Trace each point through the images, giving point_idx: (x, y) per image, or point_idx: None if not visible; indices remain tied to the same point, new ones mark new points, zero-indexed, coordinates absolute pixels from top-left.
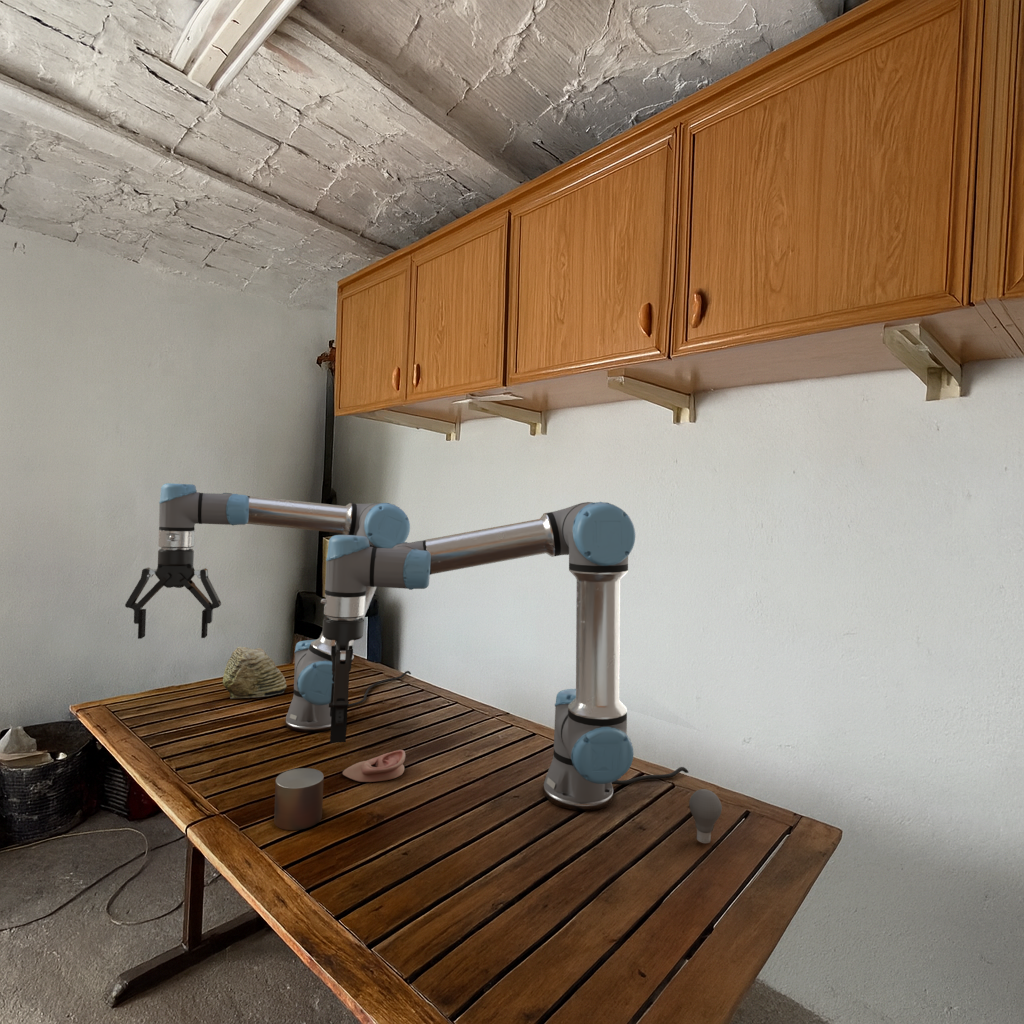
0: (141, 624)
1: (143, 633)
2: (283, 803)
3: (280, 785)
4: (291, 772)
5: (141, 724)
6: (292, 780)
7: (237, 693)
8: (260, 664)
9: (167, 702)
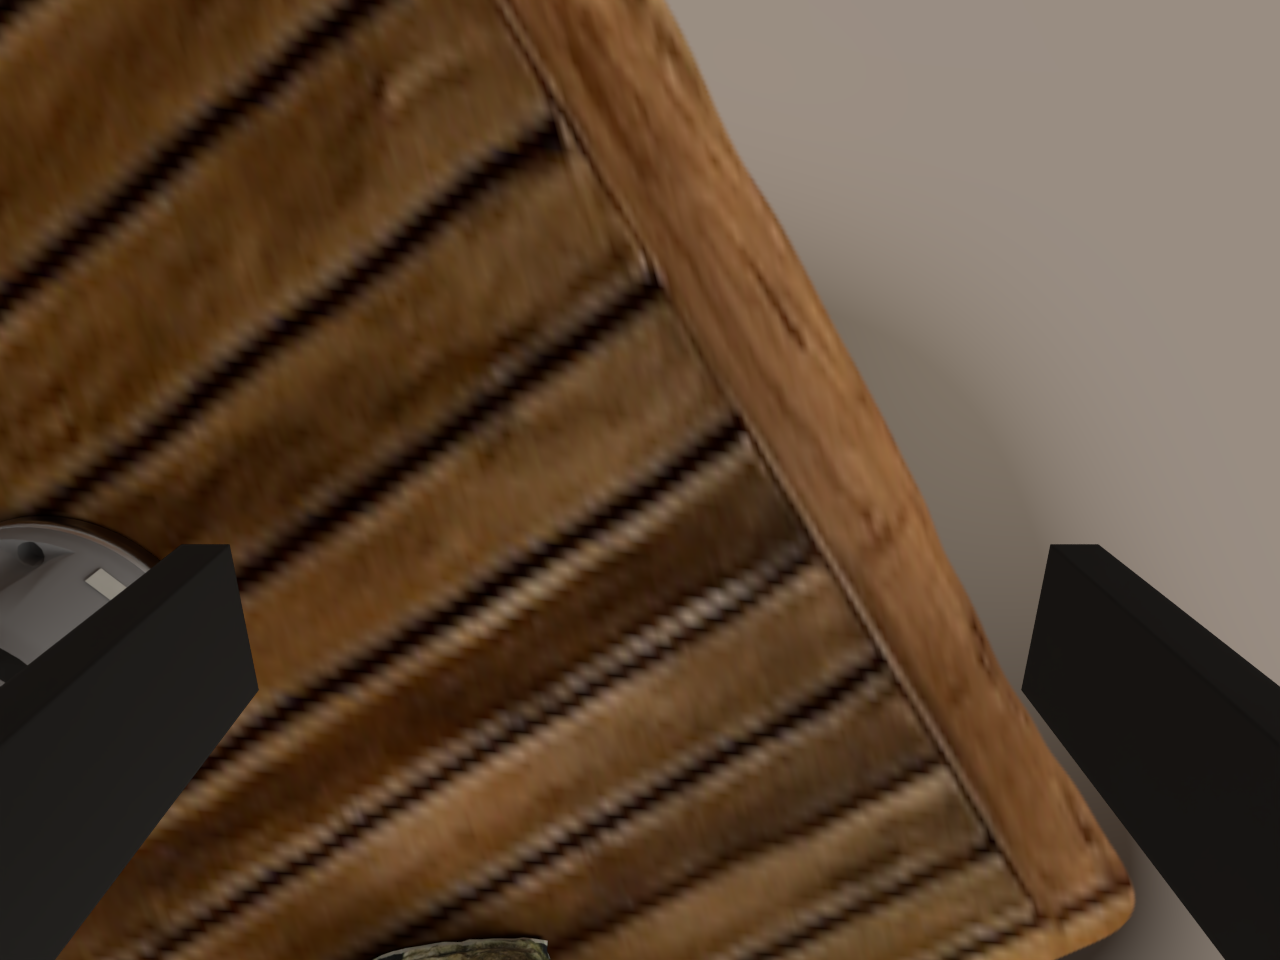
0: (1196, 668)
1: (1062, 654)
2: None
3: None
4: None
5: (847, 698)
6: None
7: (509, 951)
8: None
9: (799, 924)
